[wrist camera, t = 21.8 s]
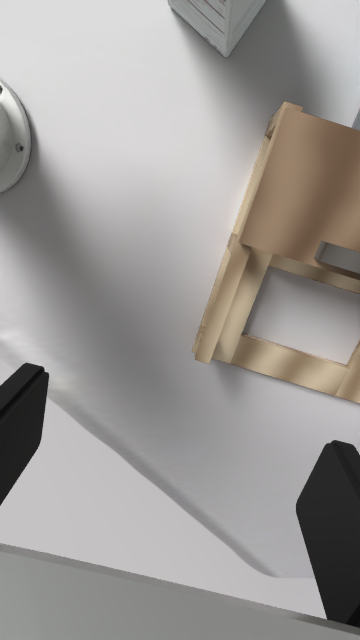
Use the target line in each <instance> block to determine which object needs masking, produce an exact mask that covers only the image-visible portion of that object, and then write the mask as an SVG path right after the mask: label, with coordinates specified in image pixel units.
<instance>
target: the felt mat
mask: <svg viewBox="0 0 360 640" xmlns="http://www.w3.org/2000/svg"><path fill="white" fill-rule="evenodd" d="M352 128H353V129H356V130H359V131H360V109H359V112H358V114H357V116H356V119H355V121H354V124H353V126H352Z"/></svg>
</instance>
